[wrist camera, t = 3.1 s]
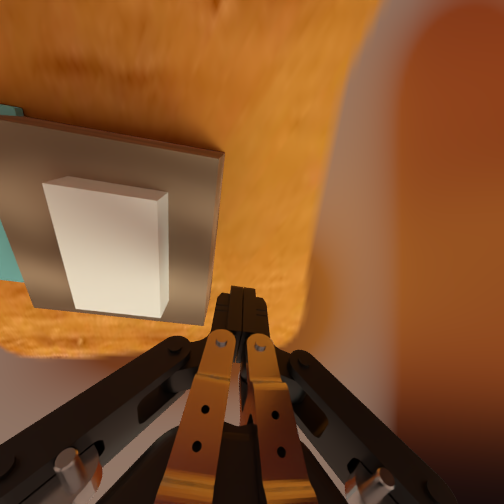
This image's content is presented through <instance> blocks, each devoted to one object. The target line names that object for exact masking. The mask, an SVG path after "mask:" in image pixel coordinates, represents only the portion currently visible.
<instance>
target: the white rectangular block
mask: <svg viewBox="0 0 504 504" xmlns="http://www.w3.org/2000/svg"><path fill="white" fill-rule="evenodd" d="M42 185H43V189H44V193H45V197H46V200H47V204H48V208H49V211H50V215H51V219H52V223H53V226H54V230H55V234H56V238H57V241H58V245H59V249H60V252H61V256H62V260H63V264H64V267H65V271H66V275H67V279H68V282H69V286H70V290H71V293H72V297H73V301H74V305H75V308H76V309H81V310H91V311H100V312H109V313H118V314H127V315H136V316H146V317H155V318H161V316H162V314H163V312H164V310H165V308H166V306H167V303H168V301H169V244H168V192H164V191H158V190H152V189H145V188H139V187H133V186H127V185H121V184H114V183H108V182H102V181H96V180H89V179H83V178H77V177H71V176H66V177H63V178H59V179H55V180H51V181H47V182H43V183H42Z"/></svg>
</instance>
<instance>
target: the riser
mask: <svg viewBox="0 0 504 504" xmlns="http://www.w3.org/2000/svg"><path fill="white" fill-rule="evenodd" d="M224 157H225V153H223V152H218V151H212V150H207V149H201V148H196V147H190V146H185V145H179V144H174V143H168V142H163V141H157V140H152V139H146V138H141V137H135V136H130V135H124V134H119V133H113V132H108V131H102V130H97V129H91V128H85V127H80V126H74V125H69V124H63V123H58V122H52V121H47V120H41V119H36V118H30V117H25V116H9V115H0V220H1V222H2V225H3V228H4V230H5V233H6V235H7V238H8V241H9V243H10V246H11V249H12V251H13V254H14V256H15V259H16V262H17V264H18V267H19V269H20V272H21V275H22V277H23V280H24V282H25V285H26V288H27V290H28V293H29V296H30V298H31V301H32V303H33V306H34V308H43V309H52V310H61V311H71V312H80V313H89V314H98V315H108V316H117V317H126V318H136V319H145V320H154V321H163V322H173V323H182V324H191V325H201V326H204V321H205V317H206V313H207V308H208V304H209V299H210V293H211V283H212V273H213V264H214V254H215V244H216V235H217V225H218V215H219V206H220V196H221V186H222V177H223V167H224ZM66 176H71V177H77V178H83V179H89V180H96V181H102V182H108V183H114V184H121V185H127V186H133V187H139V188H145V189H152V190H158V191H164V192H168V244H169V301H168V303H167V306H166V308H165V310H164V312H163V314H162V316H161V318H155V317H146V316H136V315H127V314H118V313H109V312H100V311H91V310H81V309H76V308H75V305H74V301H73V297H72V293H71V290H70V286H69V282H68V279H67V275H66V271H65V267H64V264H63V260H62V256H61V252H60V249H59V245H58V241H57V238H56V234H55V230H54V226H53V223H52V219H51V215H50V211H49V208H48V204H47V200H46V197H45V193H44V189H43V185H42V183H43V182H47V181H51V180H55V179H59V178H63V177H66Z"/></svg>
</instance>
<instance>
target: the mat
mask: <svg viewBox="0 0 504 504" xmlns="http://www.w3.org/2000/svg"><path fill="white" fill-rule="evenodd" d="M0 115H9V116H24V114H23V110H22V108H19V107H14V106H8V105H3V104H0ZM0 280H8V281H16V282H24V280H23V277H22V275H21V272H20V269H19V267H18V264H17V262H16V259H15V256H14V254H13V251H12V249H11V246H10V243H9V241H8V238H7V235H6V233H5V230H4V228H3V225H2V222H1V220H0Z"/></svg>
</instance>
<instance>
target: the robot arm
mask: <svg viewBox="0 0 504 504" xmlns="http://www.w3.org/2000/svg"><path fill="white" fill-rule="evenodd" d="M235 358H236V363H241V364H240V374H239V402H240V423H239V426H234V425H232V424H229V423H226V422H224V418H225V411H226V405H227V398H228V391H229V385H230V375H231V369H232V364H233V362H235ZM188 389H190V392H189V396H188V399H187V402H186V405H185V409H184V412H183V415H182V418H181V422H180V425H179V426H177V427H175V428H173V429H171V430H169V431H167V432H166V433H164V434H163V435H162V436H161V437H159V438H158V439H157V440H156V441H155V442H154V443H153V444H152V445H151V446H150V447H149V448H148V449H147V450H146V451H145V452H144V454H142V455H141V456H140V458H139V459H138V460H137V461H136V462H135V463H134V464H133V465H132V466H131V467H130V468H129V469H128V470H127V471H126V472H125V473H124V474H123V475H122V476H121V477H120V478H119V480H117V482H116V483H115V484H114V485H113V486H112V487H111V488H110V489H109V490H108V491H107V492H106V493H105V494H104V495H103V496H102V497H101V498H100V499H99V500H98V501H97V502H96V504H458V503H457V500H456V498H455V496H454V494H453V493H452V491H451V490H450V488H449V487H448V485H447V484H446V483H445V482H444V481H443V480H442V479H441V478H440V476H438V474H436V473H435V472H434V471H433V470H432V469H431V468H430V467H429V466H428V465H427V464H426V463H425V462H424V461H423V460H422V459H421V458H420V457H419V456H418V455H416V454H415V453H414V452H413V451H412V450H411V449H410V448H409V447H408V446H407V445H406V444H405V443H404V442H403V441H402V440H401V439H400V438H398V436H396V435H395V434H394V433H393V432H392V431H391V430H390V429H389V428H388V427H387V426H386V425H385V424H384V423H383V422H382V421H380V419H378V418H377V417H376V416H375V415H374V414H373V413H372V412H371V411H370V410H369V409H368V408H367V407H366V406H365V405H364V404H363V403H362V402H361V401H360V400H359V399H358V398H357V397H355V396H354V395H353V394H352V393H351V392H350V391H349V390H348V389H347V388H346V387H345V386H344V385H343V384H342V383H341V382H340V381H338V379H336V378H335V377H334V376H333V375H332V374H331V373H330V372H329V371H328V370H327V369H326V368H325V367H324V366H323V365H322V364H321V363H320V362H319V361H318V360H316V359H315V358H314V357H313V356H312V355H311V354H310V353H308V352H306V351H303V350H295V351H293V352H292V353H291V354H290V353H287V352H285V351H282V350H280V349H279V348H277V347H276V346H275V345H274V344H273V341H272V340H271V339H270V333H269V324H268V314H267V305H266V303H265V301H264V300H263V298H259V297H256V293H255V289H253V288H246V287H244V288H243V287H238V286H231V291H230V294H228V293H221V294H220V295H219V296H218V298H217V302H216V307H215V312H214V318H213V323H212V328H211V332H210V334H209V335H208V336H207V337H206V338H204V339H202V340H200V341H195V342H189V340H188V339H186V338H185V337H182V336H172V337H169V338H167V339H165V340H164V341H162V342H161V343H159V344H157V345H156V346H154V347H153V348H151V349H150V350H148V351H146V352H145V353H143V354H142V355H140V356H139V357H137V358H136V359H134V360H133V361H131V362H129V363H128V364H126V365H125V366H123V367H122V368H120V369H118V370H117V371H115V372H114V373H112V374H111V375H109V376H107V377H106V378H104V379H103V380H101V381H100V382H98V383H96V384H95V385H93V386H92V387H90V388H89V389H87V390H86V391H84V392H82V393H81V394H79V395H78V396H76V397H74V398H73V399H71V400H70V401H68V402H67V403H65V404H64V405H62V406H60V407H59V408H57V409H56V410H54V411H53V412H51V413H49V414H48V415H46V416H45V417H43V418H42V419H40V420H39V421H37V422H35V423H34V424H32V425H31V426H29V427H28V428H26V429H24V430H23V431H21V432H20V433H18V434H17V435H15V436H14V437H12V438H11V439H9V440H7V441H6V442H4V443H3V444H1V445H0V504H87V503H88V502H89V501H90V500H91V499H92V498H93V496H94V495H95V493H96V492H97V490H98V488H99V486H100V483H101V480H102V474H103V471H102V467H103V466H104V465H106V463H108V462H109V461H110V460H111V459H112V458H113V457H114V456H115V455H116V454H118V453H119V452H120V451H121V450H122V449H123V448H124V447H125V446H126V445H128V444H129V443H130V442H131V441H132V440H133V439H134V438H135V437H136V436H138V434H140V433H141V432H142V431H143V430H144V429H145V428H146V427H147V426H149V424H151V423H152V422H153V421H154V420H155V419H156V418H157V417H159V416H160V415H161V414H162V413H163V412H164V411H165V410H166V409H167V408H168V407H169V406H171V405H172V403H174V402H175V401H176V400H177V399H178V398H179V397H181V396H182V395H183V394H184V393H185V391H186V390H188ZM296 424H297V425H298V426H299V428H300V429H301V430H302V432H303V433H304V434H305V436H306V437H307V438H308V439H309V441H310V442H311V443H312V444H313V446H314V447H315V448H316V450H317V451H318V452H319V453H320V455H321V456H322V457H323V458H324V460H325V461H326V462H327V464H328V465H329V466H330V467H331V468H332V470H333V471H334V472H335V474H336V475H337V476H338V478H339V479H340V480H341V481H342V483H343V484H344V485H345V495H346V499H347V501H346V499H345V498H344V496H343V495H342V494H341V493H340V491H339V490H338V488H337V487H336V486H335V484H334V483H333V481H332V480H331V479H330V477H329V476H328V474H327V473H326V472H325V470H324V469H323V468H322V466H321V465H320V464H319V462H318V461H317V459H316V458H315V456H314V455H313V454H312V452H311V451H310V450H309V449H308V448H307V446H306V445H305V444H304V443H303V442H301V441H300V438H299V434H298V429H297V425H296Z"/></svg>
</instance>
